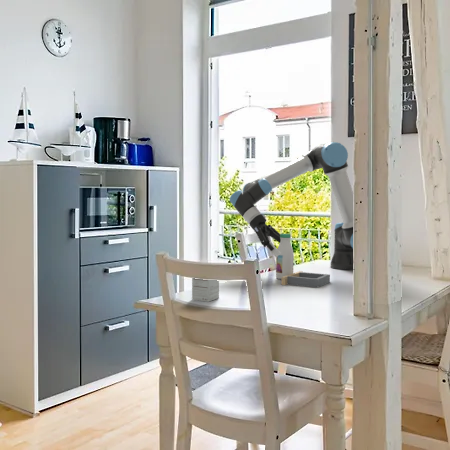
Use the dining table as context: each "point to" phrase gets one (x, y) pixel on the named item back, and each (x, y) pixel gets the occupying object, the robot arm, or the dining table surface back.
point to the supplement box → (205, 289)
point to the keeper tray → (306, 279)
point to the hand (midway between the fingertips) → (284, 254)
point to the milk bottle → (284, 257)
